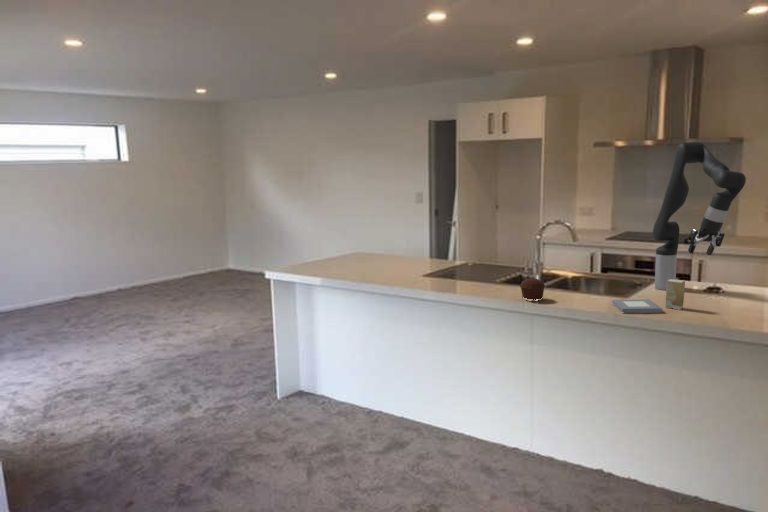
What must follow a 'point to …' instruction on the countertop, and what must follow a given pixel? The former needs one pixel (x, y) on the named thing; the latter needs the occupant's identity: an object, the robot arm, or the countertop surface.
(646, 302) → the plate
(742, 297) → the countertop surface
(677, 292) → the skincare box
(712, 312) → the countertop surface
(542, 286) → the muffin
